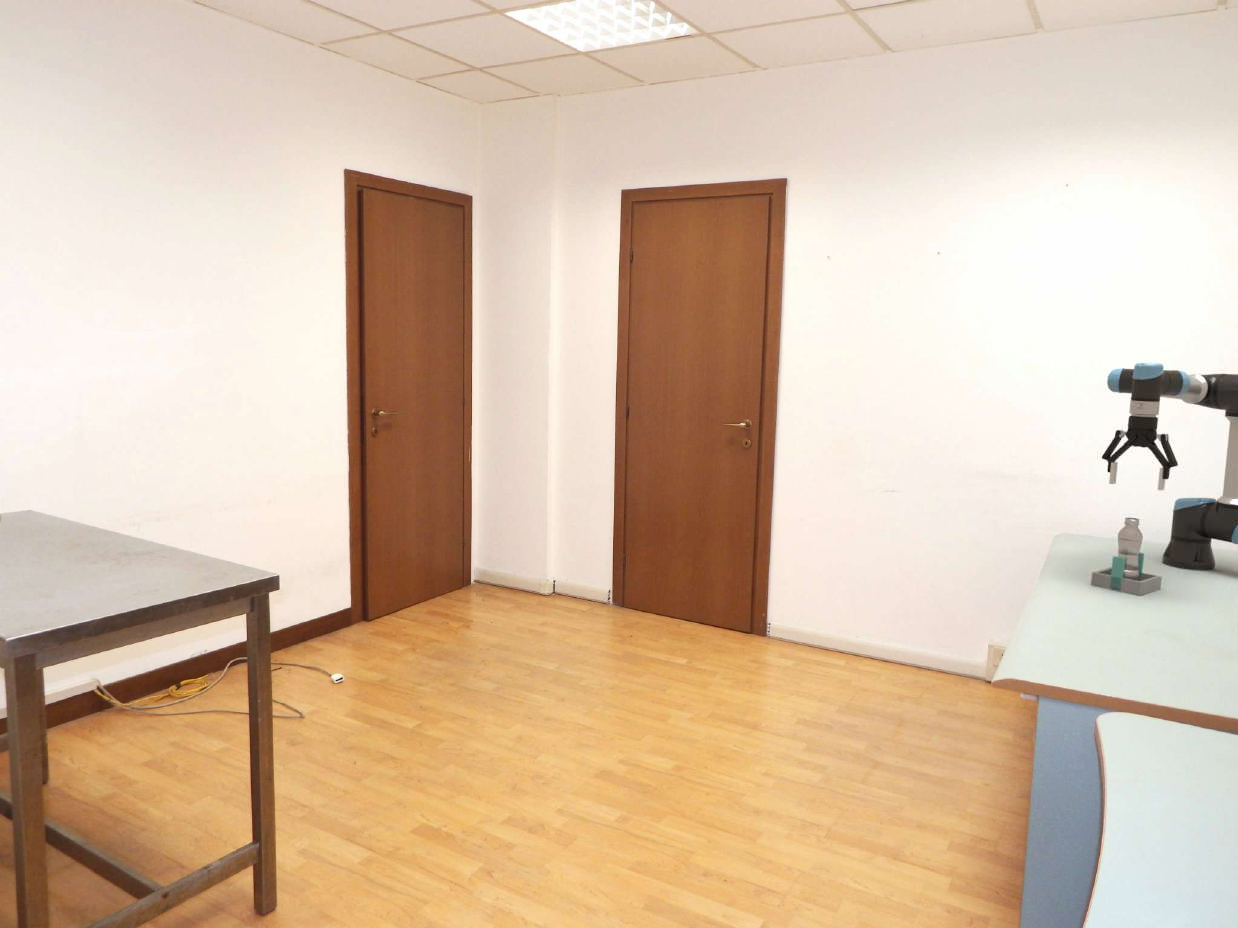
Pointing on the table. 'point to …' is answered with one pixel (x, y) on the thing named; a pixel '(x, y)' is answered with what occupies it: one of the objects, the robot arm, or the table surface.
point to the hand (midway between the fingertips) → (1136, 486)
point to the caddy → (1115, 580)
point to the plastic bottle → (1130, 547)
